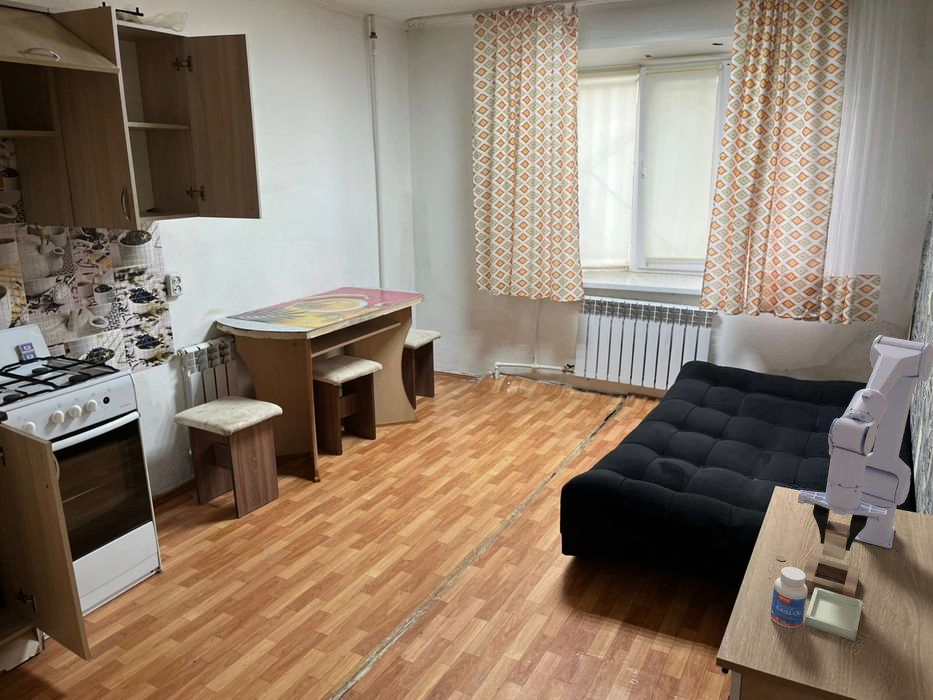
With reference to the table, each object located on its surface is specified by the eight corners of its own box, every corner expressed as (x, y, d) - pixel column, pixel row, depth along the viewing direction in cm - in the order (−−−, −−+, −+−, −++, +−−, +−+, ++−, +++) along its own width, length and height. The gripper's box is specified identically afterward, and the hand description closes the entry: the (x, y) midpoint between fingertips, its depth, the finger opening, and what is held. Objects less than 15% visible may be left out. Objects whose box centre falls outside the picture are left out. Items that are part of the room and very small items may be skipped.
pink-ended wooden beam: (825, 545, 137) (828, 520, 135) (846, 550, 135) (850, 525, 133) (822, 554, 134) (825, 529, 132) (843, 560, 132) (847, 534, 130)
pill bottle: (770, 625, 126) (776, 578, 123) (769, 606, 131) (775, 561, 128) (804, 632, 124) (811, 584, 121) (801, 612, 129) (808, 567, 126)
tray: (813, 594, 134) (815, 586, 133) (861, 609, 129) (863, 600, 129) (804, 624, 126) (805, 616, 125) (855, 641, 122) (856, 632, 121)
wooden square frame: (808, 565, 142) (809, 554, 142) (858, 579, 138) (860, 568, 137) (800, 588, 135) (801, 578, 135) (852, 604, 131) (854, 593, 130)
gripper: (798, 479, 130) (790, 543, 135) (888, 500, 123) (877, 567, 127) (805, 464, 136) (797, 526, 140) (892, 483, 128) (880, 548, 132)
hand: (835, 544), depth 134 cm, fingers closed on pink-ended wooden beam, 4 cm apart
